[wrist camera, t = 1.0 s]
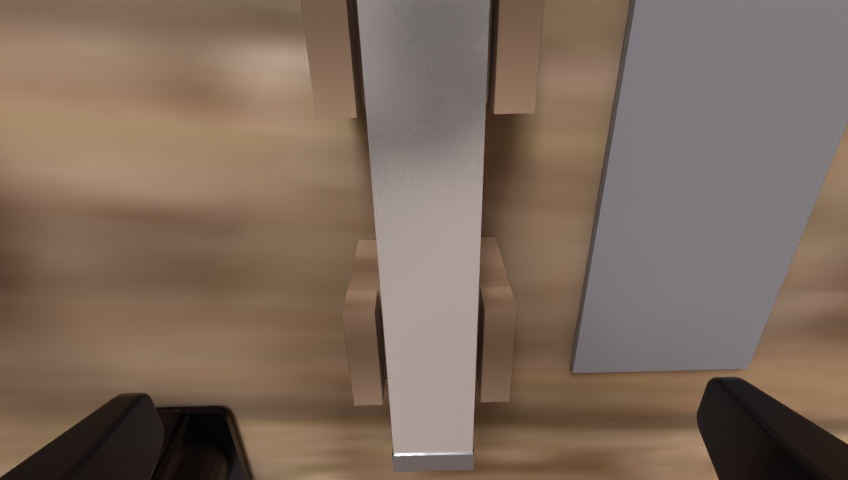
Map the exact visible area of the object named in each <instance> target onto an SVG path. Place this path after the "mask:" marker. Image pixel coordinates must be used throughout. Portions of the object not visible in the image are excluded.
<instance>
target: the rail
mask: <svg viewBox="0 0 848 480" xmlns="http://www.w3.org/2000/svg"><path fill="white" fill-rule="evenodd" d="M357 7H358V20H359V32H360V44H361V57H362V69H363V81H364V94H365V106H366V118H367V130H368V143H369V155H370V167H371V180H372V192H373V204H374V217H375V229H376V241H377V254H378V266H379V278H380V290H381V303H382V315H383V327H384V340H385V352H386V364H387V377H388V389H389V401H390V413H391V426H392V438H393V452H392V459H393V471H394V472H407V471H447V470H474V448H473V427H474V401H475V375H476V349H477V322H478V296H479V270H480V244H481V218H482V192H483V166H484V140H485V114H486V88H487V61H488V35H489V9H490V0H357Z"/></svg>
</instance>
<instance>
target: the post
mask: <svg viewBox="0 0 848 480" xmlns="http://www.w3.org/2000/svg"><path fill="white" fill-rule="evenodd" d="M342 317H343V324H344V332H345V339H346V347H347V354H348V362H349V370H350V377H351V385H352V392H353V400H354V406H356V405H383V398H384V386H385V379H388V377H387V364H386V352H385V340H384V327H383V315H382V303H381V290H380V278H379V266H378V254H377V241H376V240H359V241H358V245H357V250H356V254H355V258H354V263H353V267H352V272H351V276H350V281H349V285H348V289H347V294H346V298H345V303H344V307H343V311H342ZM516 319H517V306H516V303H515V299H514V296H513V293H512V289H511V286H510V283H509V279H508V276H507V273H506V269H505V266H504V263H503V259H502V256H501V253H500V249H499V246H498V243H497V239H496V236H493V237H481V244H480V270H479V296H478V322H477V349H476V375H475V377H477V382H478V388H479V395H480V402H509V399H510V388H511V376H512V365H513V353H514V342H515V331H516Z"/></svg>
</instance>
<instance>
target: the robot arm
mask: <svg viewBox="0 0 848 480" xmlns="http://www.w3.org/2000/svg"><path fill="white" fill-rule="evenodd" d="M697 424H698V428H699V431H700V433H701V436H702V438H703V441H704V443H705V446H706V448H707V451H708V453H709V456H710V458H711V461H712V463H713V466H714V468H715V471H716V474H717V476H718V479H719V480H848V444H847V443H845V442H843V441H842V440H840V439H839V438H837V437H835V436H834V435H832V434H830V433H829V432H827V431H826V430H824V429H822V428H821V427H819V426H818V425H816V424H814V423H813V422H811V421H810V420H808V419H806V418H805V417H803V416H801V415H800V414H798V413H797V412H795V411H793V410H792V409H790V408H789V407H787V406H785V405H784V404H782V403H780V402H779V401H777V400H776V399H774V398H772V397H771V396H769V395H768V394H766V393H764V392H763V391H761V390H760V389H758V388H756V387H755V386H753V385H751V384H750V383H748V382H747V381H745V380H743V379H741V378H738V377H715V378H712V379H711V380H710V381H708V383H707V386H706V389H705V392H704V394H703V397H702V400H701V403H700V406H699V408H698V412H697ZM0 480H250V477H249V474H248V471H247V468H246V464H245V461H244V458H243V455H242V452H241V448H240V445H239V442H238V439H237V436H236V432H235V429H234V426H233V423H232V419H231V416H230V413H229V412H228V410H227V409H225V408H223V407H219V406H207V407H168V408H155V406H154V403H153V401H152V399H151V397H150V396H149V395H148V394H146V393H124V394H120V395H118V396H116V397H114V398H113V399H111V400H110V401H108V402H107V403H106V404H104V405H103V406H101V407H100V408H98V409H97V410H96V411H94V412H93V413H91V414H90V415H89V416H87V417H86V418H84V419H83V420H81V421H80V422H79V423H77V424H76V425H74V426H73V427H71V428H70V429H69V430H67V431H66V432H64V433H63V434H62V435H60V436H59V437H57V438H56V439H54V440H53V441H52V442H50V443H49V444H47V445H46V446H44V447H43V448H42V449H40V450H39V451H37V452H36V453H34V454H33V455H32V456H30V457H29V458H27V459H26V460H25V461H23V462H22V463H20V464H19V465H17V466H16V467H15V468H13V469H12V470H10V471H9V472H7V473H6V474H5V475H3V476H2V477H0Z"/></svg>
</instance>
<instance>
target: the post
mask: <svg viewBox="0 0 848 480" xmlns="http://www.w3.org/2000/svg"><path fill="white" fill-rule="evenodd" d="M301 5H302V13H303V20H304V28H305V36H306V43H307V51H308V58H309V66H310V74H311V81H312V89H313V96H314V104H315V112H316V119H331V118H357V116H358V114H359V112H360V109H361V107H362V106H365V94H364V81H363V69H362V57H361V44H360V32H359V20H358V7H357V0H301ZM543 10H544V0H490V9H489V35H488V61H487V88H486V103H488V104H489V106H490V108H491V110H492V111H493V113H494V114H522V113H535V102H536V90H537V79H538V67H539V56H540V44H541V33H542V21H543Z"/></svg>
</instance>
